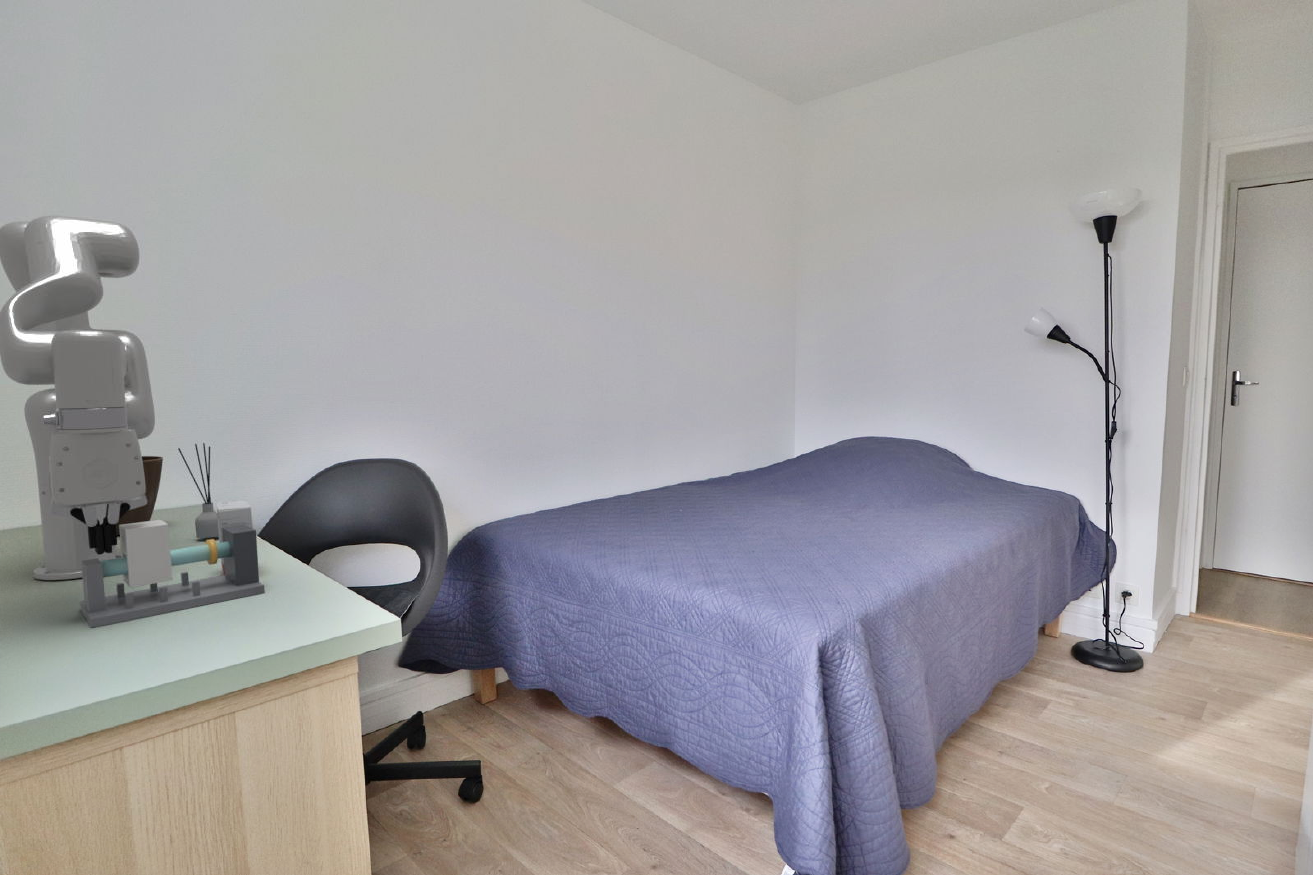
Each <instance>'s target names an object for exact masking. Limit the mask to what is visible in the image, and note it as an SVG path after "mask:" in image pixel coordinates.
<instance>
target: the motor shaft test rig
mask: <svg viewBox="0 0 1313 875" xmlns="http://www.w3.org/2000/svg"><path fill="white" fill-rule="evenodd" d="M222 538H223V542H220V543H219V542H216V541H215V538H210V539H206V540H205V543H204V544H202V545H196V546H195V545H194V546H189V547H182V548H177V549H176V548H175V549H170V554H171V567H175V566H182V565H187V564H193V563H200V562H207V563H208V565H215V564H217V563H218V561H219V559H221V558H224V568H225V575H224V574H223V575H218V576H213V577H207V578H202V579H201V578H200V579H196V580H190V581H189V572H188V571H183V572H180V583H179V582H178V583H174V584H168V585H167V584H166V585H162V586H158V583H154V584H149V588H145V589H141V590H135V591H131V592H130V591H129V592H126V591H125V582H119V583H116V584H115V585H116V586H115V587H116V594H113V595H107V596H106V595H105V594H106V593H105V582H104V581H105V580H104V578H109V577H116V576H123V574H128V570H127V557H122V558H115V559H109V560H102V561H99V560H98V558H96V559H89V560H83V561H81V565H82V588H83V600H80V601H79V606H80V610H81V613H82V614H83V616H84V617H85V619H86V620H87V622H88V624H89V626H90V627H91V628H99V627H103V626H107V625H108V626H109V625H112V624H113V625H114V624H118V623H123V622H128V621H133V620H138V619H142V618H147V617H153V616H157V615H162V614H167V613H172V612H178V611H181V610H187V609H191V608H197V607H201V606H206V605H211V604H217V603H221V602H225V601H231V600H236V599H241V598H246V597H251V596H255V595H260V594H265V584H263V583H261V582H260V575H259V574H260V573H259V558H258V540H257V530H256V529H254V528H253V529H252V528H250V527H248V526H246V525H239V526H232V527H225V528H222Z"/></svg>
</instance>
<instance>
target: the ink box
mask: <svg viewBox="0 0 1313 875" xmlns="http://www.w3.org/2000/svg"><path fill="white" fill-rule="evenodd" d="M216 513H217V517H218V532H219V536H218V543H220V542H223V538H222V528H225V527H232V526H239V525H246V526H248V527H250V528H252V529H254V526H253V525H254V524H253V515H252V506H251V505H250V502H249V501H248V500H238V501H228V502H226V501H225V502H218V503H216ZM220 561H221V570H222V573H223V575H225V568H224V558H220Z"/></svg>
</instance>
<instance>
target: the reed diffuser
mask: <svg viewBox="0 0 1313 875" xmlns="http://www.w3.org/2000/svg"><path fill="white" fill-rule="evenodd" d="M202 444H203V446H202V447H203V454H204V455H203V456H204V465H205V473H206V482H207V488H206V484H205V478H204V474H203V469H202V464H201V460H200V454H199V450H198V449H199V448H198V445H197V443H194V446H195V450H196V451H195V452H196V456H197V460H198V465H199V470H200V474H201V480H202V486H203V490H204V494H205V497H204V495H203V493H202V491H201V488H200V487H199V485H198V482H197V480H196V478H195V477H194V474H193V472H192V471H191V469H190V466H189V465H188V463H187V462H188V461H186V458H185V456H184V455H183V452H182V450H181V448H179V447H178V448H177V450H178V451H179V453H180V455H181V457H182V459H183V462H184V463H185V465H186V468H187V469H188V472H189V474H190V475H191V477H192V480H193V482H194V484H195V485H196V487H197V490H198V492H199V493H200V496H201V498H202V499H203V502H204V503H202V512H201V513H200V514H199V515H198V516H196V518H195V519H194V522H195V524H194V525H195V533H196V534H195V535H196V538H198V539H209V538H210V539H212V538H216V537H219V532H218V517H217V511H214V503H213V502H212V498H211V489H210V486H211V484H210V483H211V482H210V481H211V478H210V477H211V446H208V462H207V452H206V446H205V442H204V443H202Z"/></svg>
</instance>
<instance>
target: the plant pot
mask: <svg viewBox="0 0 1313 875" xmlns="http://www.w3.org/2000/svg"><path fill="white" fill-rule="evenodd" d="M141 456H142V462H143V469H144V476H145V487H146V490H145V496H146V499H147V504H146V505H144V506H141V507H138V508H134V509H131V510H128V511H127V512H126V513H125V514H124V515H123V516H122V517H121V518H120V519H119V520H118V522H117V523H116V533H117V535H120V529H119V525H122V524H130V523H138V522H146V521H151V519H152V516H153V512H154V509H155V505H156V502H157V499H158V498H157V497H158V495H159V494H158V493H159V490H160V484H161V477H162V470H163V462H164V461H163V459H164V457H163V456H157V455H152V456H151V455H141Z"/></svg>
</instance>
